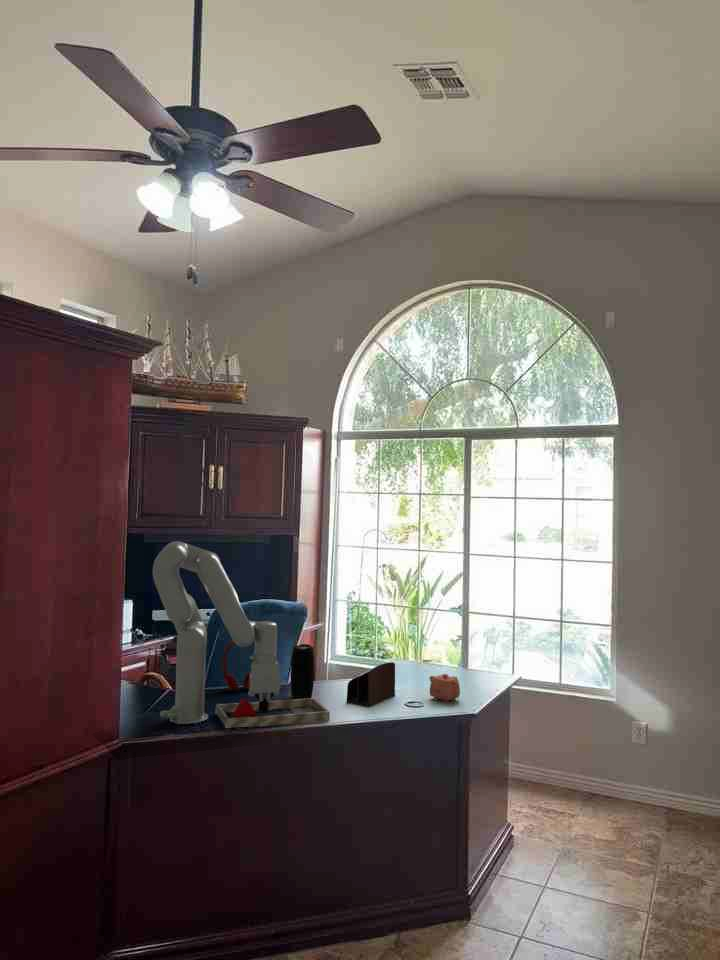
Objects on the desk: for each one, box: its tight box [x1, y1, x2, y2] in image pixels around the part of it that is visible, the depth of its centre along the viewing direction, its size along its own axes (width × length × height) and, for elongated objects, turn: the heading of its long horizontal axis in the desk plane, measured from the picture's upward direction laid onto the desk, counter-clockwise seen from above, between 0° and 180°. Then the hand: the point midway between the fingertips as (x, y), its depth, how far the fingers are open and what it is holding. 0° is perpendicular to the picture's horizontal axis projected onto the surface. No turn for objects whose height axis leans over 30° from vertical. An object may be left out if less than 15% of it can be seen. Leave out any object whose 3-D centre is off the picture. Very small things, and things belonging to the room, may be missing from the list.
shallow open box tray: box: [215, 697, 331, 729], centre depth 255 cm, size 36×18×4 cm, turn 112°
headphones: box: [221, 640, 255, 692], centre depth 289 cm, size 15×7×20 cm, turn 118°
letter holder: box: [346, 661, 396, 708], centre depth 282 cm, size 10×20×14 cm, turn 149°
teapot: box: [429, 673, 461, 703], centre depth 285 cm, size 12×12×10 cm
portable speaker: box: [289, 643, 315, 700], centre depth 281 cm, size 9×9×20 cm
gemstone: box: [230, 698, 258, 718], centre depth 248 cm, size 9×9×10 cm
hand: (263, 712), depth 254 cm, fingers closed
